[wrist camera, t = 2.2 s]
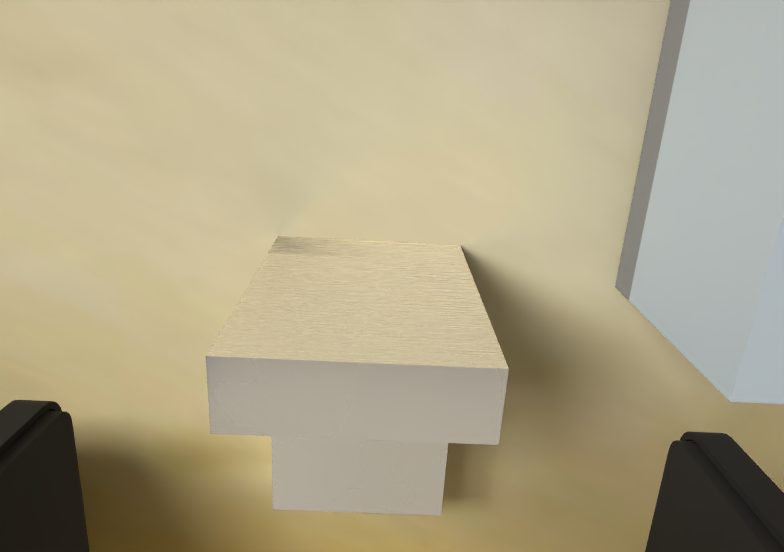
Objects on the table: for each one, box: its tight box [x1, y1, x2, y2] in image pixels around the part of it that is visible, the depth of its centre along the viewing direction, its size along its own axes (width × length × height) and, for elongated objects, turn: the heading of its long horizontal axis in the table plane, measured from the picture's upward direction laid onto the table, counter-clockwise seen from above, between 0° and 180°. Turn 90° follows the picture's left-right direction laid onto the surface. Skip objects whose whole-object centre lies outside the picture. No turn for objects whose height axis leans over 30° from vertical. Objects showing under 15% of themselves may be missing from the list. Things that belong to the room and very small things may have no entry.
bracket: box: [206, 236, 509, 516], centre depth 14 cm, size 8×5×7 cm, turn 177°
